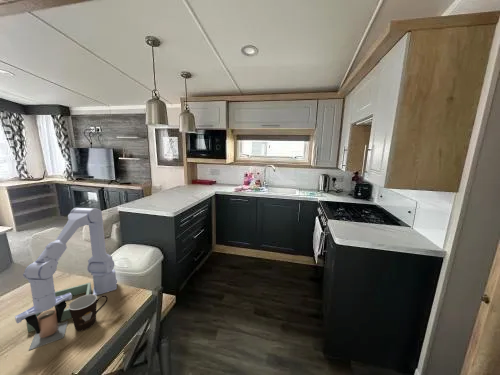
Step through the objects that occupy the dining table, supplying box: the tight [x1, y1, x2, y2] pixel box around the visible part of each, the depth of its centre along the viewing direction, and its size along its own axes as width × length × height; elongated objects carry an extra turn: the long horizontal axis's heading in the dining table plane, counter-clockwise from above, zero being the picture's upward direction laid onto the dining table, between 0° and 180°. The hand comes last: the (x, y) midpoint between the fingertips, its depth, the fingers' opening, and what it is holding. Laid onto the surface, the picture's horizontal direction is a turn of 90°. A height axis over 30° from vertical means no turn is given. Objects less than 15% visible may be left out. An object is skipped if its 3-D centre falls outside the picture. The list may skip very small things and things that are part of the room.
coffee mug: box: [68, 293, 109, 332], centre depth 80 cm, size 12×9×10 cm
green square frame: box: [26, 281, 92, 333], centre depth 89 cm, size 18×18×4 cm
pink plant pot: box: [37, 309, 59, 338], centre depth 75 cm, size 5×5×7 cm
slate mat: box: [28, 320, 68, 351], centre depth 76 cm, size 9×9×1 cm
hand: (48, 326), depth 75 cm, fingers closed on pink plant pot, 5 cm apart
